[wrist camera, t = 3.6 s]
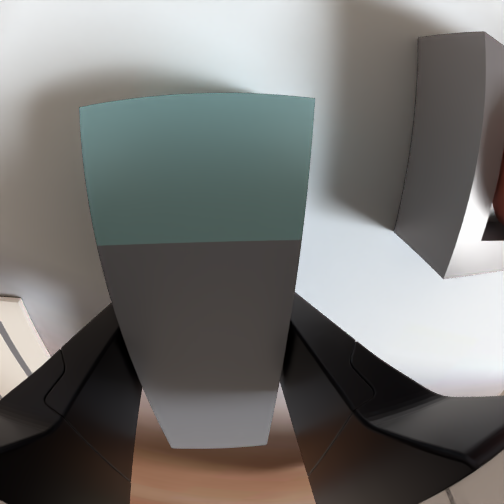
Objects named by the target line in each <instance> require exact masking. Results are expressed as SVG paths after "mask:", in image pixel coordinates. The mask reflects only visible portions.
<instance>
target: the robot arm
mask: <svg viewBox="0 0 504 504" xmlns="http://www.w3.org/2000/svg"><path fill="white" fill-rule="evenodd" d="M280 383H281V387H282V390H283V394H284V397H285V401H286V404H287V407H288V411H289V414H290V418H291V421H292V424H293V428H294V431H295V435H296V438H297V441H298V445H299V448H300V452H301V455H302V458H303V462H304V465H305V468H306V472H307V475H308V476H309V477H308V479H309V482H310V485H311V489H312V492H313V495H314V499H315V502H316V504H504V396H486V397H448V396H443V395H439V394H437V393H434V392H432V391H430V390H428V389H427V388H425V387H423V386H422V385H420V384H419V383H417V382H415V381H414V380H412V379H411V378H409V377H407V376H406V375H404V374H403V373H401V372H399V371H398V370H396V369H395V368H393V367H392V366H390V365H389V364H387V363H386V362H384V361H383V360H381V359H380V358H378V357H377V356H376V355H374V354H373V353H372V352H370V351H369V350H368V349H366V348H365V347H364V346H362V345H361V344H360V343H359V342H357V341H356V342H355V339H353V338H352V337H351V336H350V335H348V334H347V333H346V332H345V331H343V330H342V329H341V328H340V327H338V326H337V325H336V324H335V323H333V322H332V321H331V320H329V319H328V318H327V317H326V316H324V315H323V314H322V313H321V312H319V311H318V310H317V309H316V308H314V307H313V306H312V305H311V304H309V303H308V302H307V301H306V300H304V299H303V298H302V297H301V296H299V295H298V294H297V293H296V292H294V299H293V306H292V312H291V318H290V325H289V331H288V337H287V343H286V349H285V354H284V360H283V366H282V371H281V377H280ZM141 392H142V385H141V383H140V380H139V378H138V375H137V373H136V370H135V368H134V365H133V363H132V360H131V358H130V355H129V352H128V350H127V347H126V344H125V341H124V338H123V336H122V333H121V330H120V327H119V324H118V321H117V318H116V314H115V311H114V308H113V305H112V303H111V304H110V305H108V306H107V307H106V308H105V309H104V310H103V311H102V312H100V313H99V314H98V315H97V316H96V317H95V318H94V319H92V320H91V321H90V322H89V323H88V324H87V325H86V326H85V327H83V328H82V329H81V330H80V331H79V332H78V333H77V334H76V335H75V336H73V337H72V338H71V339H70V340H69V341H68V342H67V343H66V344H65V345H64V346H63V347H62V348H61V350H60V349H59V350H58V351H57V352H56V353H55V354H54V355H53V356H52V357H51V358H50V359H48V360H47V361H46V362H45V363H44V364H43V365H42V366H41V367H40V368H38V369H37V370H36V371H35V372H33V373H32V374H31V375H30V376H29V377H28V378H26V379H25V380H24V381H23V382H21V383H20V384H19V385H18V386H16V387H15V388H14V389H13V390H11V391H10V392H9V393H8V394H7V395H5V396H4V397H3V398H2V399H0V504H130V490H131V483H130V482H131V474H132V463H133V453H134V444H135V435H136V427H137V419H138V412H139V405H140V398H141Z"/></svg>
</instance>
